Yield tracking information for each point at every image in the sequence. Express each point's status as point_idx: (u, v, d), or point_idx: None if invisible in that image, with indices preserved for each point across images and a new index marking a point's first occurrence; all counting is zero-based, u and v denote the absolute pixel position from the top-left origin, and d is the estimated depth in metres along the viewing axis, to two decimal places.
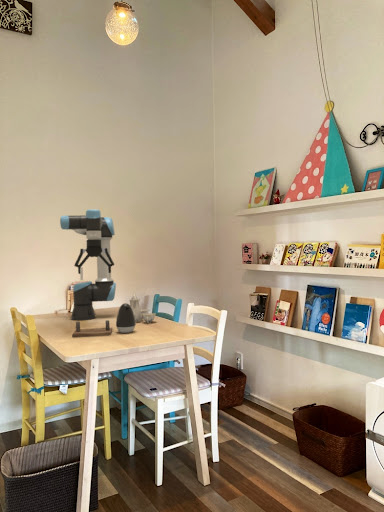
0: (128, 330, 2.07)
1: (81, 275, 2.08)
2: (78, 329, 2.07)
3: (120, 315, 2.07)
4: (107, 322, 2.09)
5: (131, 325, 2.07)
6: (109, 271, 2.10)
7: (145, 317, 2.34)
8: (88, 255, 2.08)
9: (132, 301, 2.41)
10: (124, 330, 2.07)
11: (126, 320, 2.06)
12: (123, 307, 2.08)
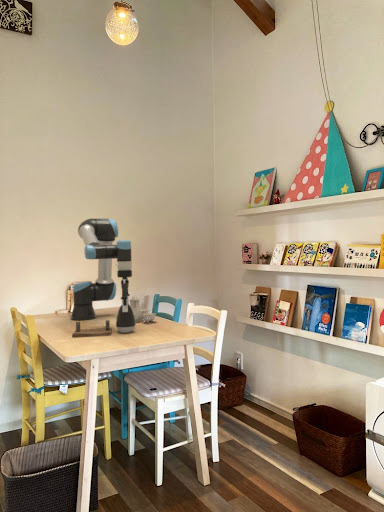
0: (128, 330, 2.07)
1: None
2: (78, 329, 2.07)
3: (120, 315, 2.07)
4: (107, 322, 2.09)
5: (131, 325, 2.07)
6: (123, 303, 2.03)
7: (145, 317, 2.34)
8: None
9: (132, 301, 2.41)
10: (124, 330, 2.07)
11: (126, 320, 2.06)
12: None
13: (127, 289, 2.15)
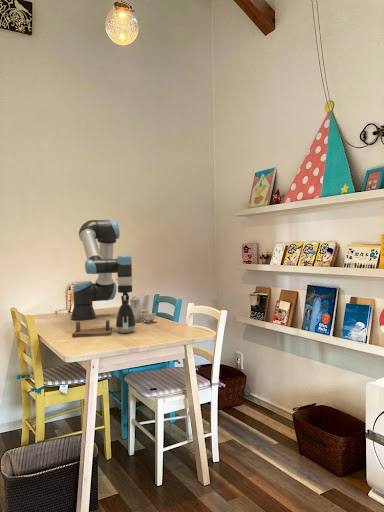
0: (128, 330, 2.07)
1: None
2: (78, 329, 2.07)
3: (120, 315, 2.07)
4: (107, 322, 2.09)
5: (131, 325, 2.07)
6: (123, 321, 2.05)
7: (145, 317, 2.35)
8: None
9: (132, 301, 2.41)
10: (124, 330, 2.07)
11: None
12: None
13: None
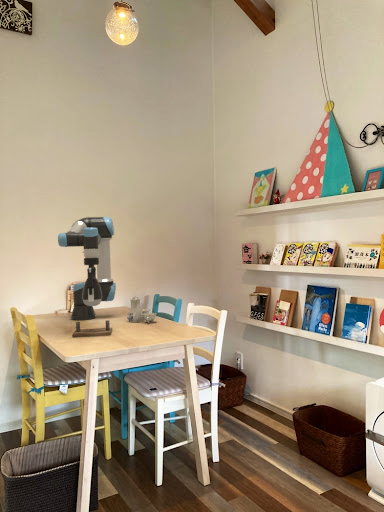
0: (94, 303, 2.05)
1: None
2: (78, 329, 2.07)
3: (86, 288, 2.05)
4: (107, 322, 2.09)
5: (97, 298, 2.05)
6: (89, 293, 2.02)
7: (146, 317, 2.35)
8: None
9: (133, 301, 2.41)
10: (89, 303, 2.05)
11: None
12: None
13: None
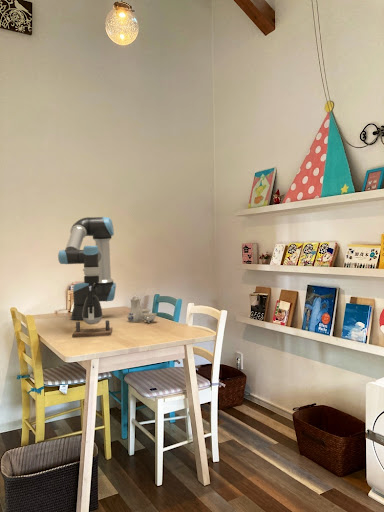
0: (94, 321, 2.05)
1: None
2: (78, 329, 2.07)
3: (86, 306, 2.05)
4: (107, 322, 2.09)
5: (97, 316, 2.05)
6: (89, 311, 2.02)
7: (146, 317, 2.35)
8: None
9: (133, 301, 2.41)
10: (90, 321, 2.05)
11: None
12: None
13: None
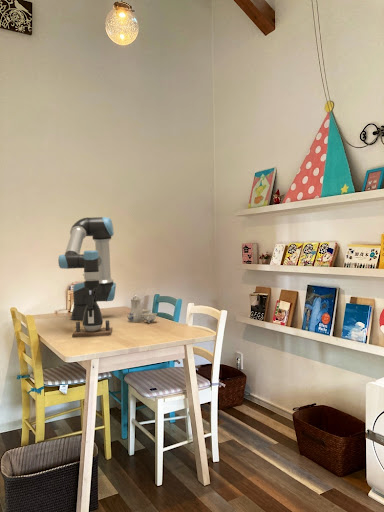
0: (94, 329, 2.05)
1: None
2: (78, 329, 2.07)
3: (86, 313, 2.05)
4: (107, 322, 2.09)
5: (97, 324, 2.05)
6: (89, 315, 2.01)
7: (146, 317, 2.35)
8: None
9: (133, 301, 2.41)
10: (90, 329, 2.05)
11: None
12: None
13: (95, 299, 2.13)
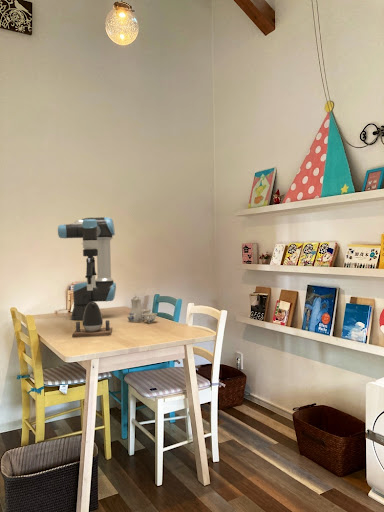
0: (94, 329, 2.05)
1: None
2: (78, 329, 2.07)
3: (86, 313, 2.05)
4: (107, 322, 2.09)
5: (97, 324, 2.05)
6: (88, 282, 2.04)
7: (146, 317, 2.35)
8: None
9: (134, 301, 2.41)
10: (90, 329, 2.05)
11: (92, 318, 2.04)
12: (89, 305, 2.06)
13: (93, 268, 2.16)
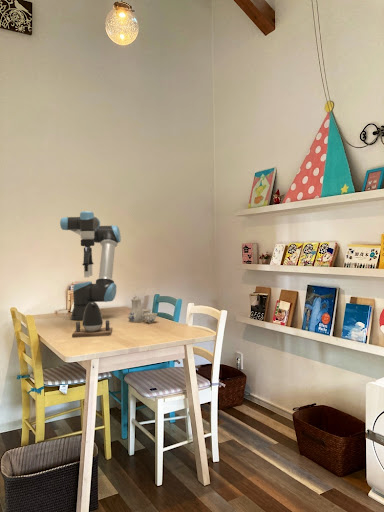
0: (94, 329, 2.05)
1: None
2: (78, 329, 2.07)
3: (86, 313, 2.05)
4: (107, 322, 2.09)
5: (97, 324, 2.05)
6: (85, 269, 2.19)
7: (146, 317, 2.35)
8: None
9: (134, 301, 2.41)
10: (90, 329, 2.05)
11: (92, 318, 2.04)
12: (89, 305, 2.06)
13: (90, 257, 2.31)
